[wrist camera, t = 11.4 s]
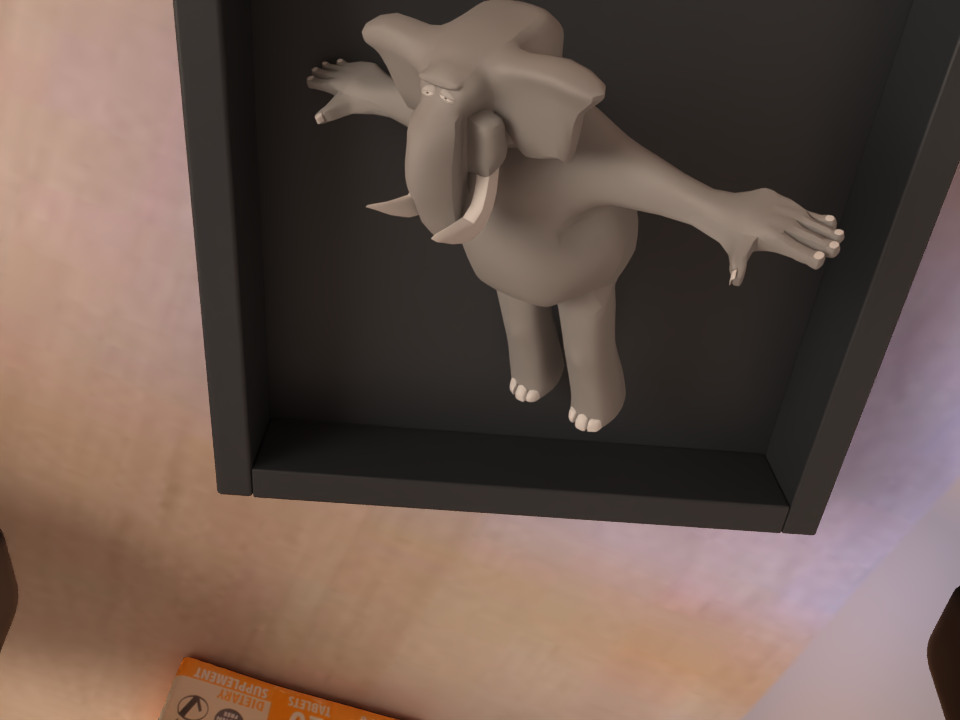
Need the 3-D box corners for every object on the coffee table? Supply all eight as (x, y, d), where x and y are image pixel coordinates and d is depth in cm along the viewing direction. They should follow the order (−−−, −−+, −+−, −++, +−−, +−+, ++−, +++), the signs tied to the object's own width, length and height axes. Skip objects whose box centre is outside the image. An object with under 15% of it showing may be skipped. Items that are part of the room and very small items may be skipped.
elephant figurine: (321, 387, 20) (130, 35, 13) (477, 229, 22) (390, -139, 15) (707, 623, 15) (742, 260, 8) (854, 387, 17) (982, -51, 10)
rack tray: (244, 427, 21) (216, 495, 19) (195, -316, 13) (138, -353, 11) (780, 466, 21) (815, 536, 19) (1015, -226, 14) (1116, -242, 12)
